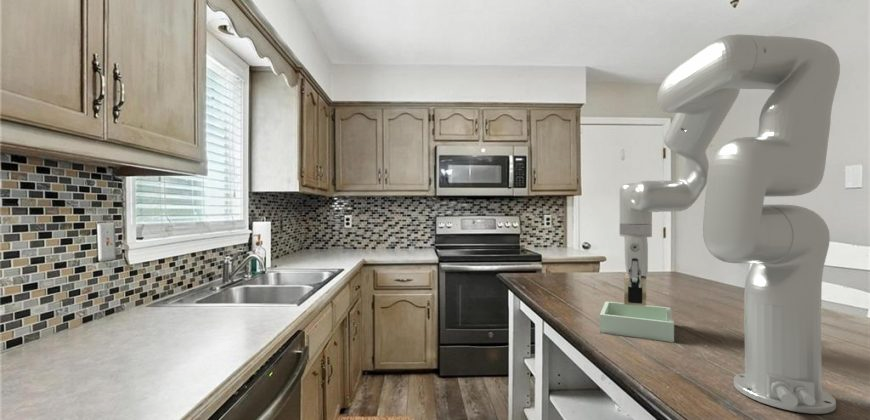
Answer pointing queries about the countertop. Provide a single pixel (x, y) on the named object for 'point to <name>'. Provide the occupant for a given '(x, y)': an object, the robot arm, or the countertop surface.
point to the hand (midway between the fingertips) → (635, 299)
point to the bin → (637, 321)
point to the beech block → (643, 286)
